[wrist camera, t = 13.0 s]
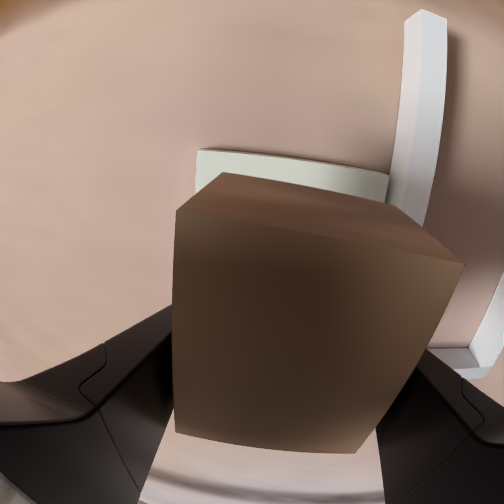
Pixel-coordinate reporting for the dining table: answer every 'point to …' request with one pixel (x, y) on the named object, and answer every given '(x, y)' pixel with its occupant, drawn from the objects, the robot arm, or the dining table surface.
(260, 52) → the dining table surface
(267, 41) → the dining table surface
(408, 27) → the channel
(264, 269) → the block
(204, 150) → the coaster
